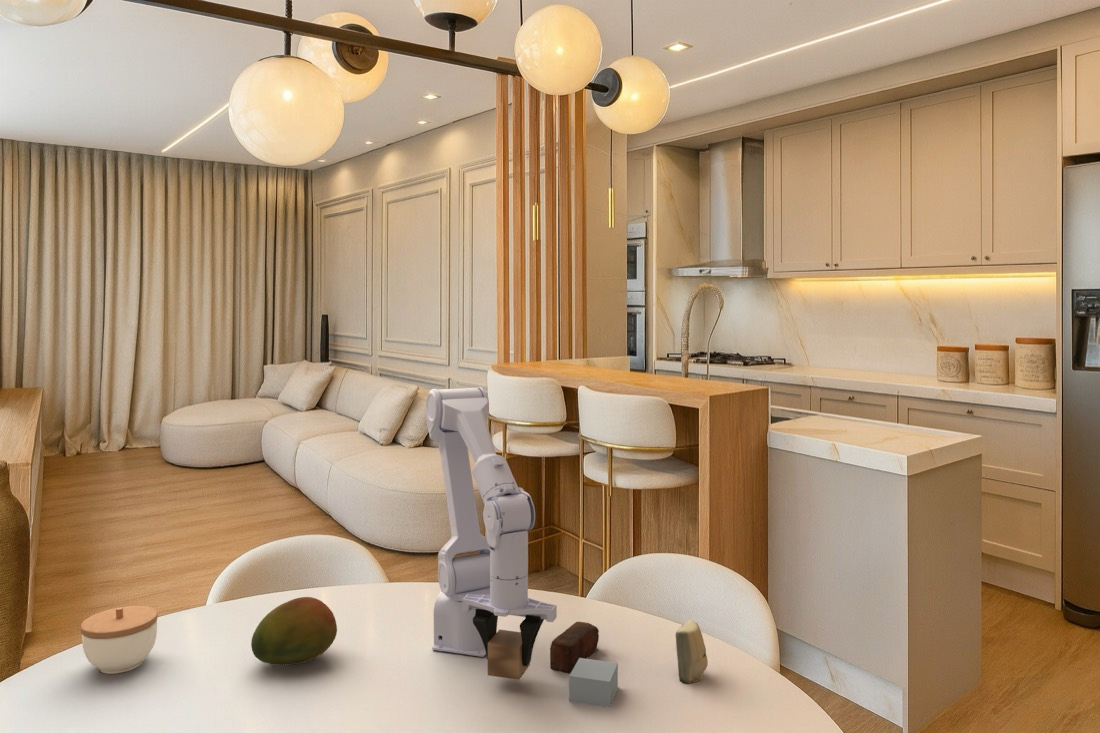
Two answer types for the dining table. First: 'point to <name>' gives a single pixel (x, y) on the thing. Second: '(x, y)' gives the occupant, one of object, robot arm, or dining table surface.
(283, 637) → the fruit
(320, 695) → the dining table surface
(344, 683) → the dining table surface
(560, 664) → the brick
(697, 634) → the tan tapered stone
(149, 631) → the lidded jar
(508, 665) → the walnut cube
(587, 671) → the slate block
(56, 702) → the dining table surface
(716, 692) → the dining table surface
